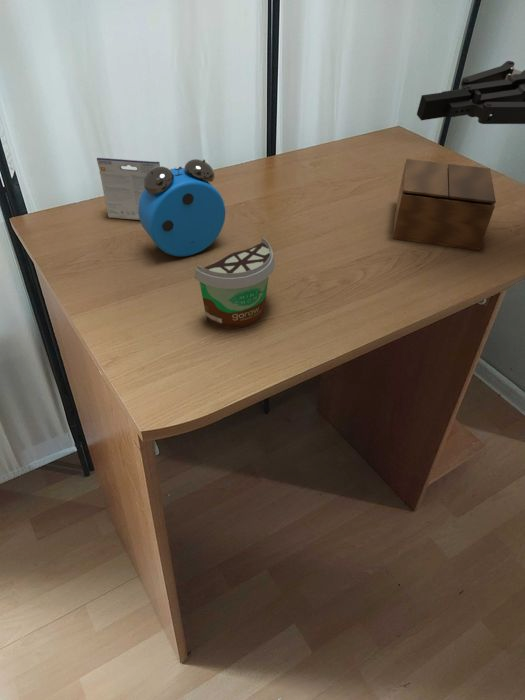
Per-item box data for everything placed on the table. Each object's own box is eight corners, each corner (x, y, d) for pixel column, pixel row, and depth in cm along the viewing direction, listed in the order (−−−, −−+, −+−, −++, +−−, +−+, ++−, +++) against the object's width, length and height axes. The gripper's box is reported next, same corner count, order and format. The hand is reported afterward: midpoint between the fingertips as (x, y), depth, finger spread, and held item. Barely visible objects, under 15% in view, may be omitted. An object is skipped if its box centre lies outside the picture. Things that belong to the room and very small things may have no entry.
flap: (489, 170, 96) (490, 168, 96) (495, 203, 87) (495, 201, 87) (447, 165, 98) (448, 163, 97) (448, 198, 88) (449, 195, 88)
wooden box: (475, 214, 102) (490, 168, 96) (479, 250, 93) (496, 201, 87) (396, 204, 105) (406, 158, 98) (392, 238, 96) (402, 190, 89)
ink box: (171, 217, 100) (164, 156, 92) (167, 223, 98) (160, 162, 90) (111, 211, 101) (100, 151, 93) (107, 218, 99) (94, 157, 91)
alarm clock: (212, 231, 96) (208, 149, 86) (228, 247, 92) (225, 163, 82) (143, 249, 91) (130, 164, 81) (156, 267, 88) (144, 181, 77)
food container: (223, 346, 74) (220, 287, 67) (198, 323, 77) (193, 265, 71) (289, 311, 80) (293, 254, 73) (263, 291, 83) (265, 235, 76)
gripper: (589, 136, 74) (435, 161, 71) (538, 87, 82) (395, 107, 78) (619, 83, 68) (452, 108, 64) (561, 35, 75) (408, 55, 72)
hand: (421, 108), depth 71 cm, fingers closed
